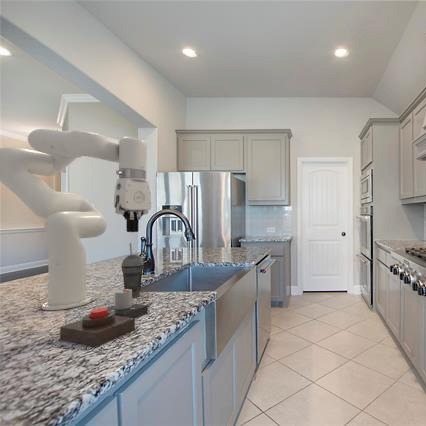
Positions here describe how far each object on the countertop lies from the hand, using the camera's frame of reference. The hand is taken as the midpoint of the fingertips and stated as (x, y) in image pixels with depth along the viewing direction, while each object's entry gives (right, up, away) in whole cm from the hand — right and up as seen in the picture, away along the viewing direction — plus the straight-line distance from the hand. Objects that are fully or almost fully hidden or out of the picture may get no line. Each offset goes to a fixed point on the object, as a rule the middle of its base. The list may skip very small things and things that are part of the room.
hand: (132, 231), depth 93 cm
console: (+2, -25, -7) cm, 26 cm away
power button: (+5, -20, -21) cm, 29 cm away
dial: (+2, -23, -7) cm, 24 cm away
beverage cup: (-9, -25, +13) cm, 30 cm away
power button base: (+5, -25, -21) cm, 33 cm away
